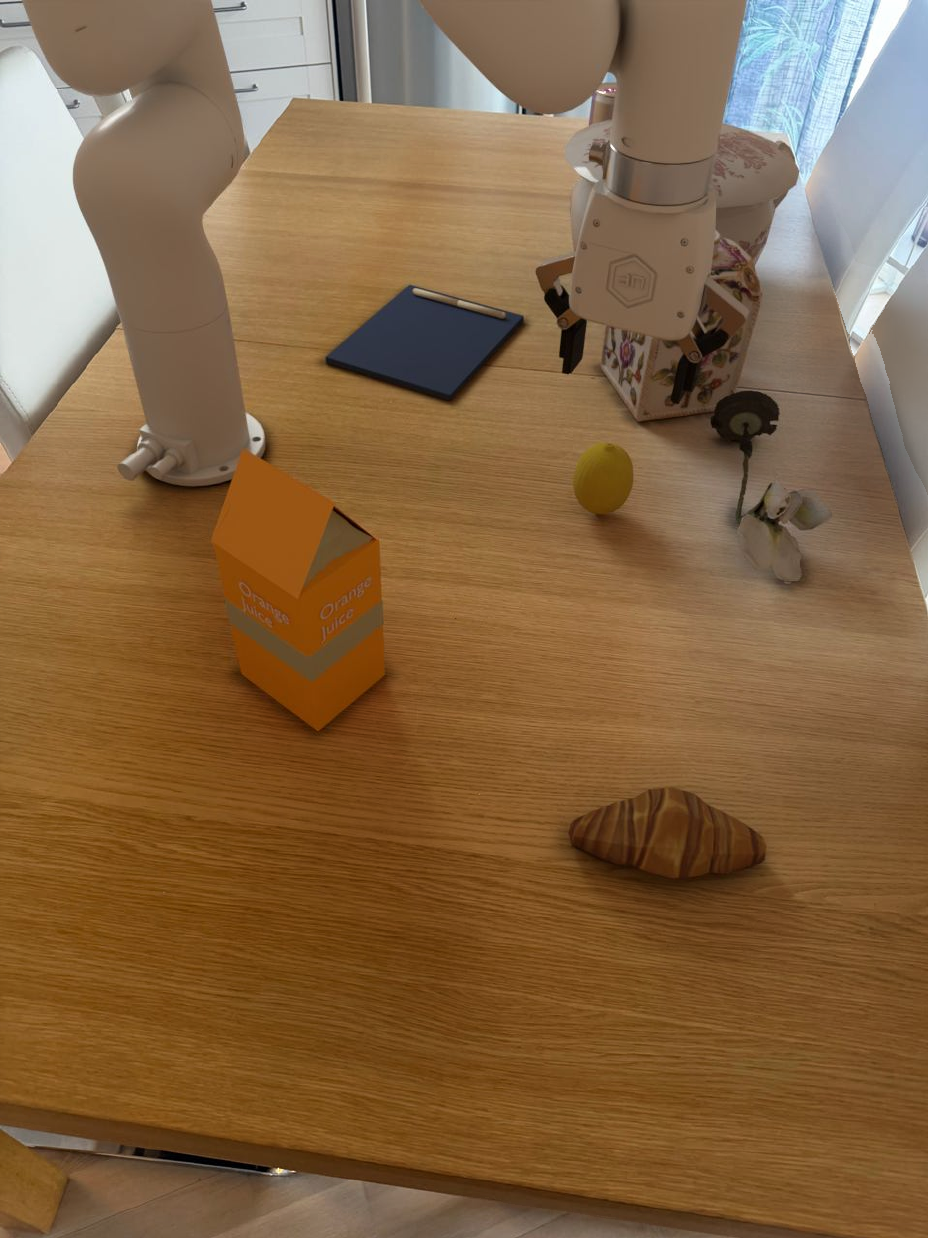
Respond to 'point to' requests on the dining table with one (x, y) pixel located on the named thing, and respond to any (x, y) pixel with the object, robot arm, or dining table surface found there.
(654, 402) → the decorative jar
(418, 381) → the clipboard
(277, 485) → the orange juice
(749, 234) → the chamber pot
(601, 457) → the lemon
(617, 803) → the croissant
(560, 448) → the dining table surface
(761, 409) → the artificial flower
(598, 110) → the beverage can
